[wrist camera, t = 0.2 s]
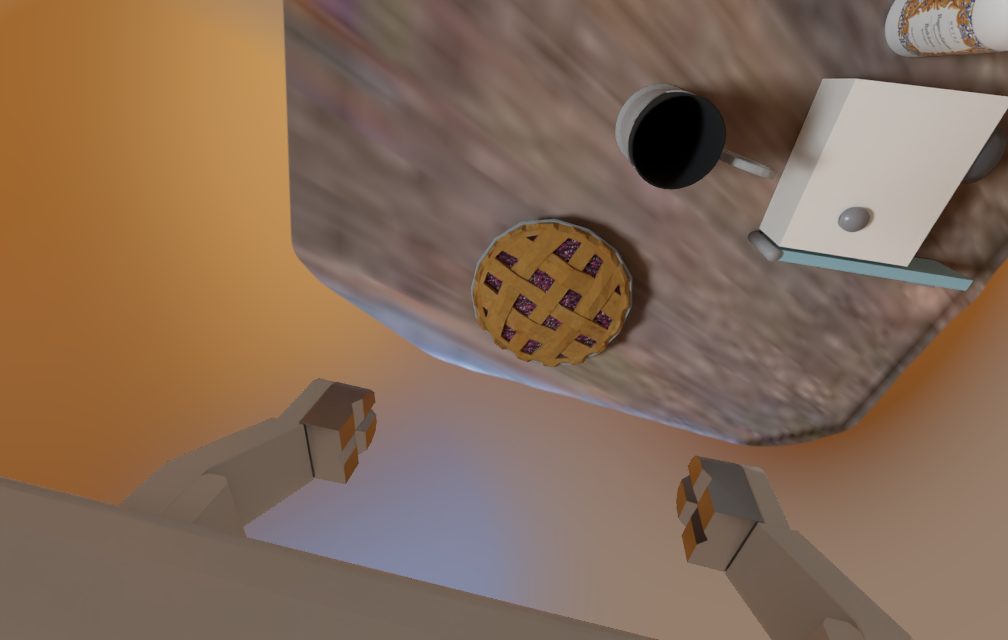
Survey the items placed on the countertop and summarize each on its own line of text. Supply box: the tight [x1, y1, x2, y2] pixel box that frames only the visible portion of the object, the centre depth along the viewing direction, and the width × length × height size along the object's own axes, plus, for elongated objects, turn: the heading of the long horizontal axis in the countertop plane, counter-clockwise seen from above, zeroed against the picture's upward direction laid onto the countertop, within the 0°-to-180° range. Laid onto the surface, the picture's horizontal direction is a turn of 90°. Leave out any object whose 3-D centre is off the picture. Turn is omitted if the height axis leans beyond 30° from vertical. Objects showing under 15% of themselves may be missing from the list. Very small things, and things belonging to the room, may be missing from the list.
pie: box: [471, 219, 632, 367], centre depth 59 cm, size 22×22×5 cm
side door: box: [748, 231, 973, 291], centre depth 49 cm, size 2×21×7 cm, turn 84°
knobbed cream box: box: [759, 79, 1008, 267], centre depth 44 cm, size 16×16×7 cm
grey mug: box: [616, 83, 777, 189], centre depth 42 cm, size 9×14×15 cm, turn 74°
